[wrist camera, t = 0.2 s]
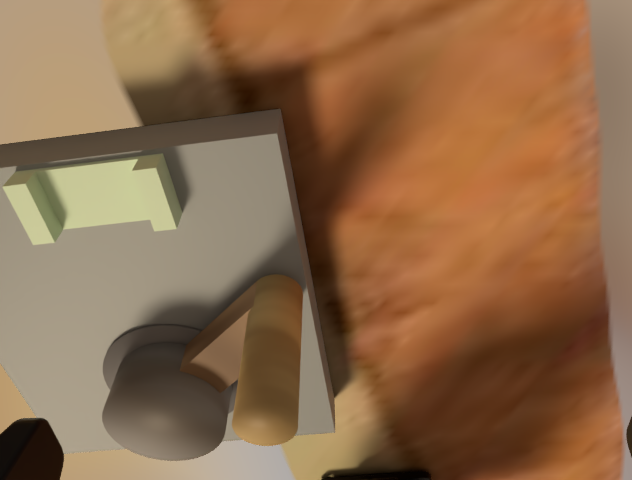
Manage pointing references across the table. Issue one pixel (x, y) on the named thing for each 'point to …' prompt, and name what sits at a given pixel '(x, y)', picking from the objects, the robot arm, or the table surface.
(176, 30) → the table surface
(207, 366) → the cam lever
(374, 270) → the table surface
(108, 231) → the stand base
